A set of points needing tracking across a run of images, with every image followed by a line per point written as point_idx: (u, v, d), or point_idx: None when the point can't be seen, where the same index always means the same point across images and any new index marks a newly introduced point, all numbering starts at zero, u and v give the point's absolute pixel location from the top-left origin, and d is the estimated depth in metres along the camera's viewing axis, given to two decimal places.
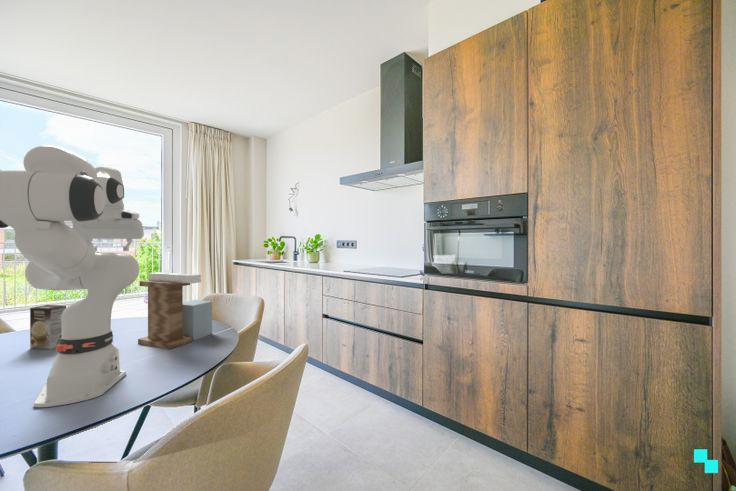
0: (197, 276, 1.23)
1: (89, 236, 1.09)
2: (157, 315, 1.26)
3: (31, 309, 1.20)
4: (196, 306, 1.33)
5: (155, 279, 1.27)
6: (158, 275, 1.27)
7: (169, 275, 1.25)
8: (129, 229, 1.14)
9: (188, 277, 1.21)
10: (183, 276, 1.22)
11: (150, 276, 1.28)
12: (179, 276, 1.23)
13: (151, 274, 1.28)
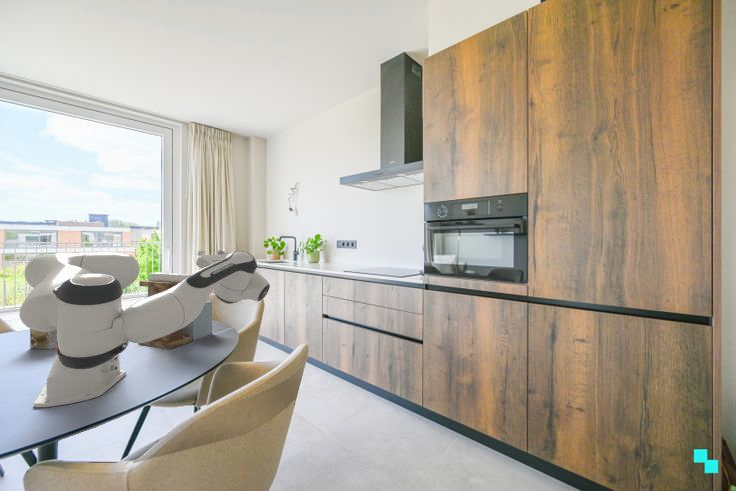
0: None
1: None
2: None
3: None
4: None
5: (155, 279, 1.27)
6: (158, 275, 1.27)
7: (169, 275, 1.25)
8: None
9: None
10: (183, 276, 1.22)
11: (150, 276, 1.28)
12: (179, 276, 1.23)
13: (151, 274, 1.28)
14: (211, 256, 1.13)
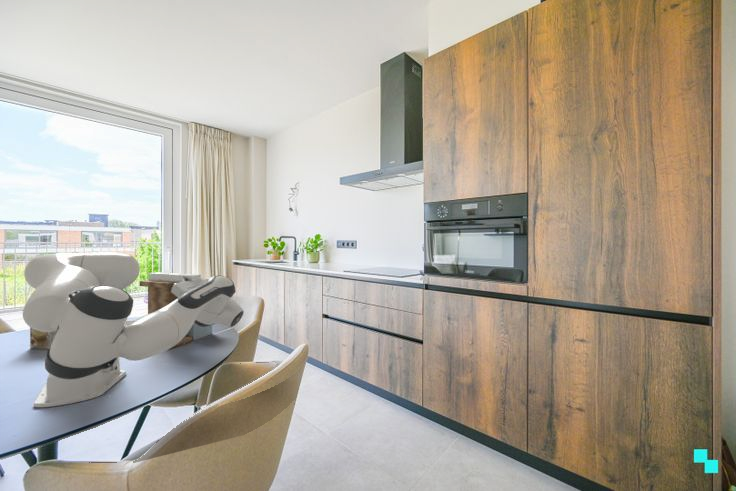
0: (197, 276, 1.23)
1: None
2: None
3: None
4: None
5: (155, 279, 1.27)
6: (158, 275, 1.27)
7: (169, 275, 1.25)
8: None
9: (188, 277, 1.21)
10: (183, 276, 1.22)
11: (150, 276, 1.28)
12: (179, 276, 1.23)
13: (151, 274, 1.28)
14: (186, 283, 1.17)
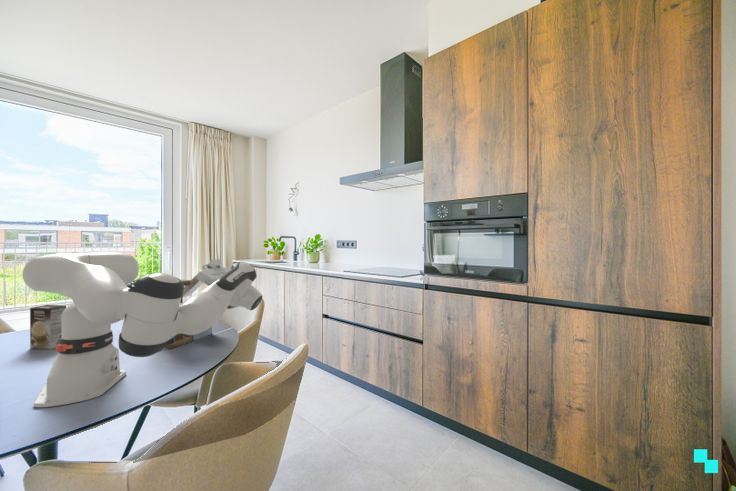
0: (217, 260, 1.34)
1: None
2: None
3: (31, 309, 1.20)
4: None
5: (186, 291, 1.36)
6: (187, 285, 1.36)
7: (195, 277, 1.35)
8: None
9: (210, 264, 1.32)
10: None
11: None
12: None
13: None
14: (210, 270, 1.28)
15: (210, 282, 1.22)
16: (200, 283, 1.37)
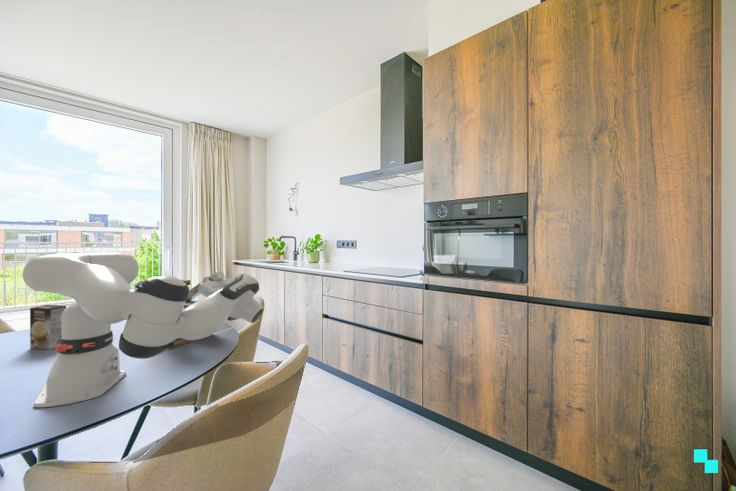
0: (220, 272, 1.34)
1: None
2: None
3: (31, 309, 1.20)
4: None
5: None
6: None
7: (196, 286, 1.35)
8: None
9: (212, 276, 1.32)
10: None
11: None
12: None
13: None
14: (211, 282, 1.28)
15: None
16: None
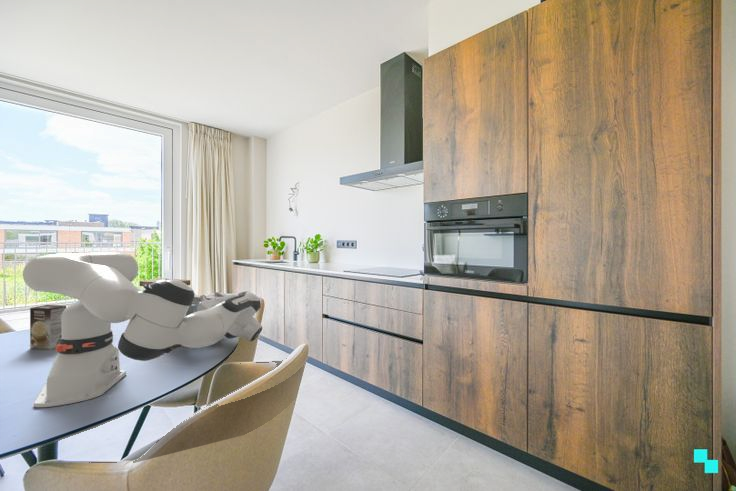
0: (221, 299, 1.33)
1: None
2: None
3: (31, 309, 1.20)
4: (196, 306, 1.33)
5: None
6: None
7: (195, 297, 1.35)
8: None
9: None
10: (208, 299, 1.32)
11: None
12: None
13: None
14: (210, 301, 1.28)
15: None
16: None
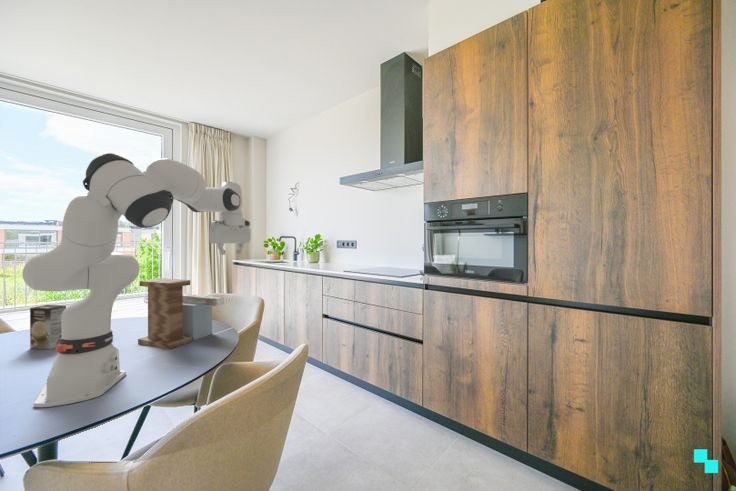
0: (221, 299, 1.33)
1: (224, 241, 1.25)
2: (157, 315, 1.26)
3: (31, 309, 1.20)
4: (196, 306, 1.33)
5: None
6: (184, 297, 1.37)
7: (195, 297, 1.35)
8: (244, 235, 1.36)
9: (213, 300, 1.32)
10: (208, 299, 1.32)
11: None
12: (204, 299, 1.33)
13: None
14: None
15: None
16: None
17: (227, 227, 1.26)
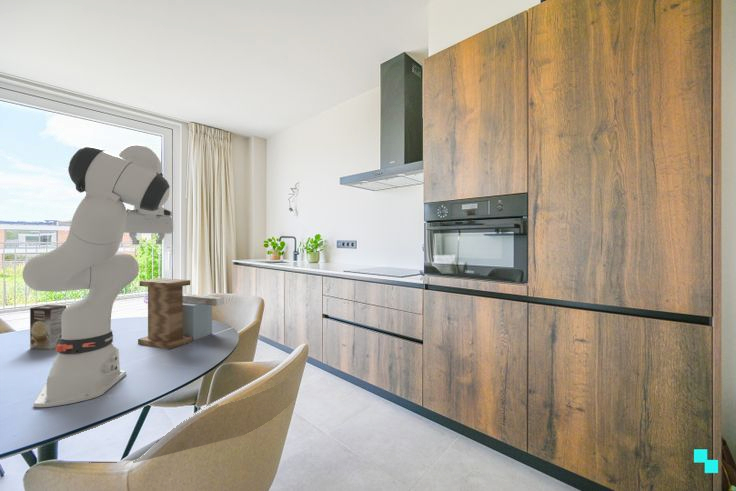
0: (221, 299, 1.33)
1: (137, 230, 1.21)
2: (157, 315, 1.26)
3: (31, 309, 1.20)
4: (196, 306, 1.33)
5: None
6: (184, 297, 1.37)
7: (195, 297, 1.35)
8: (165, 225, 1.31)
9: (213, 300, 1.32)
10: (208, 299, 1.32)
11: None
12: (204, 299, 1.33)
13: None
14: None
15: None
16: None
17: (141, 216, 1.22)
